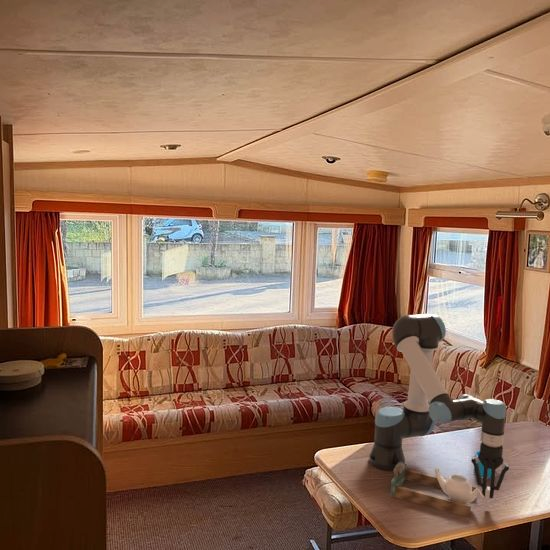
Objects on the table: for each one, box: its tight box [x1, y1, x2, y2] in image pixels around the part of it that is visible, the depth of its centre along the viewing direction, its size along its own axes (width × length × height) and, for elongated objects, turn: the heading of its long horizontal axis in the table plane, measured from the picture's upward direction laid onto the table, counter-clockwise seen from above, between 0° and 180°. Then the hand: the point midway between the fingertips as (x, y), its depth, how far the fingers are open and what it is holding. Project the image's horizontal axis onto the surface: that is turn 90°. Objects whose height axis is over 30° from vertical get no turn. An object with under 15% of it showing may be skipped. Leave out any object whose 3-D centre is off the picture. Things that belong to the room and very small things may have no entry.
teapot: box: [434, 468, 485, 504], centre depth 199 cm, size 10×20×9 cm, turn 42°
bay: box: [390, 462, 478, 518], centre depth 203 cm, size 29×17×9 cm, turn 62°
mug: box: [473, 450, 491, 478], centre depth 223 cm, size 12×8×8 cm
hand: (486, 505), depth 195 cm, fingers closed
